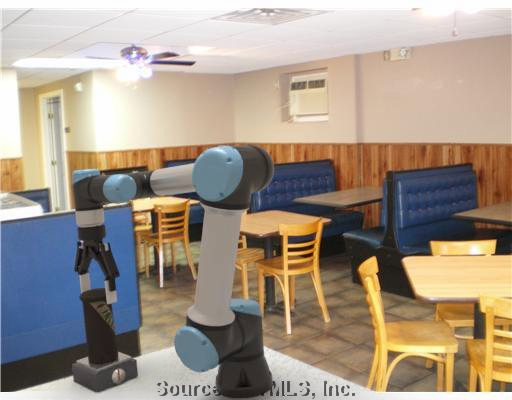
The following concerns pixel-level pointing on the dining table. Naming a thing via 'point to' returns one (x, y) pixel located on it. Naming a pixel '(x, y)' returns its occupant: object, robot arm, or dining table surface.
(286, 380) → the dining table surface
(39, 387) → the dining table surface
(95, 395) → the dining table surface
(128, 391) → the dining table surface
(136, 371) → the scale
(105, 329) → the container
